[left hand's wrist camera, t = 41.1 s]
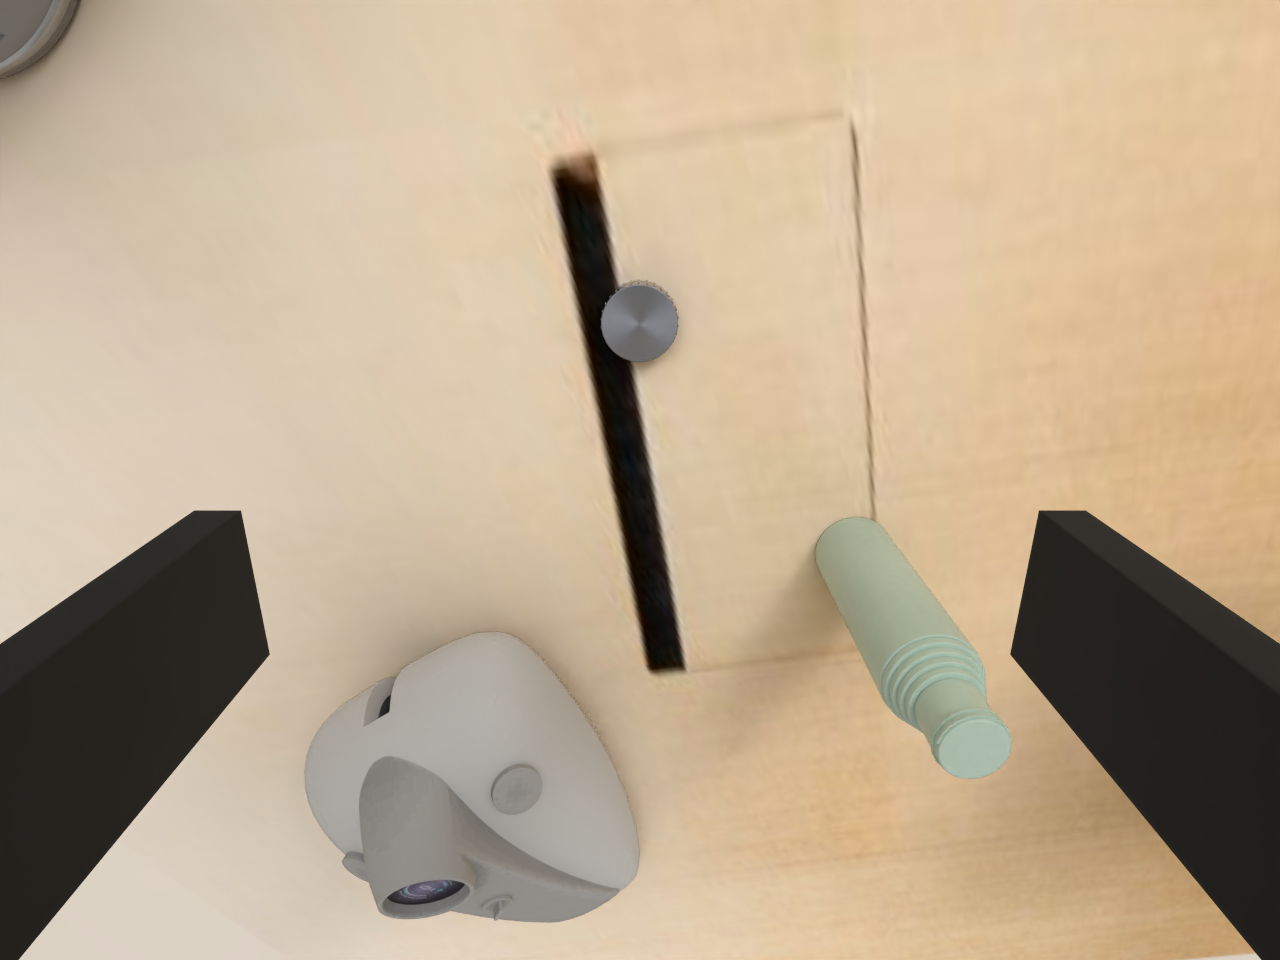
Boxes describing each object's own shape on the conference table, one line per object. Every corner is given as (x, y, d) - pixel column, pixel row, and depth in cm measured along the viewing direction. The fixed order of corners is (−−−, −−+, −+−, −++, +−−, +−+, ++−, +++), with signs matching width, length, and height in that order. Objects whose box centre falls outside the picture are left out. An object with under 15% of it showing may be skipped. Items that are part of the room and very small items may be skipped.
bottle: (902, 528, 46) (1056, 718, 29) (872, 592, 48) (1002, 809, 31) (831, 507, 46) (945, 688, 29) (803, 573, 47) (896, 782, 30)
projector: (332, 853, 55) (230, 1067, 42) (341, 581, 47) (220, 734, 34) (627, 890, 57) (623, 1110, 43) (684, 631, 49) (701, 799, 35)
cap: (590, 338, 42) (588, 344, 40) (619, 267, 41) (618, 270, 39) (658, 367, 43) (659, 374, 41) (689, 298, 42) (691, 302, 40)
